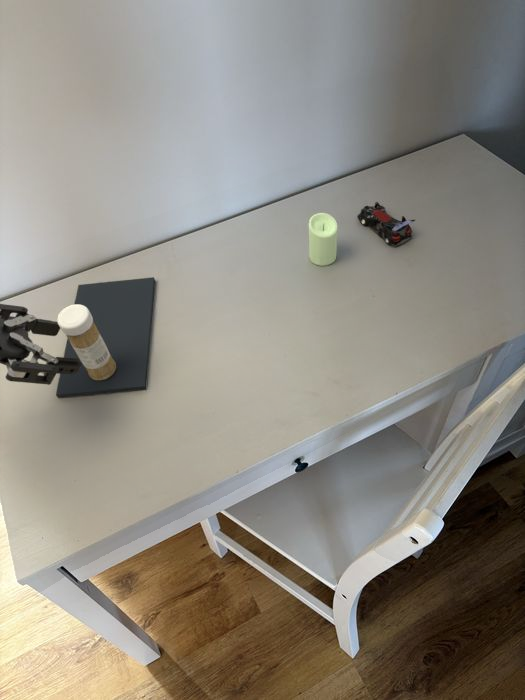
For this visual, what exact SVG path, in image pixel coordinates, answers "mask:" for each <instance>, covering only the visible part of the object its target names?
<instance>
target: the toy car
mask: <svg viewBox="0 0 525 700" xmlns="http://www.w3.org/2000/svg"><path fill="white" fill-rule="evenodd" d="M356 217H357V220H358V221H360V224H361V225H362V226H368V227H369V229H370V230H372V231H373V232H374V233H375V234H377V236H379V237H381V238H382V239H383V240H384V242H385V244H386V245H390V246H393V247H394V248H396V247H398V246H401V245H402V244H404V243H406V242H407V241H409V240H410V239H413V235H412V233H413V230H412V228H411V226H410V224H411V223H413V222H415V221H416V219H408V220H407V218H406V217H405V216H404V215H402V216H401V220H398V219H397V218H394V217H393V216H391V215H389V214H388V212H387V210H386V207H384V205H381V204H380V203H379V202H378V201H375V202H374V205H373V206H369V205H365V206H363V208H361V209H360V213H358V214H357V216H356Z"/></svg>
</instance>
